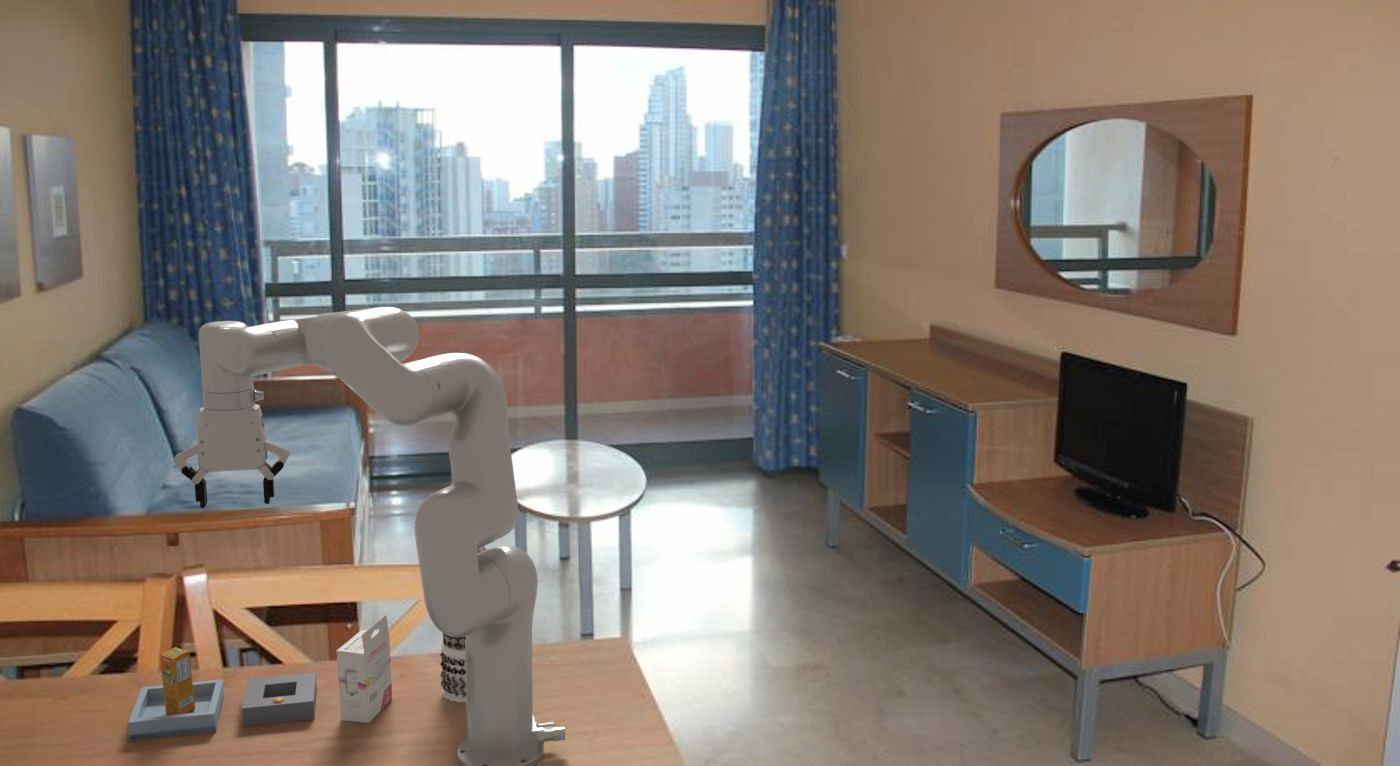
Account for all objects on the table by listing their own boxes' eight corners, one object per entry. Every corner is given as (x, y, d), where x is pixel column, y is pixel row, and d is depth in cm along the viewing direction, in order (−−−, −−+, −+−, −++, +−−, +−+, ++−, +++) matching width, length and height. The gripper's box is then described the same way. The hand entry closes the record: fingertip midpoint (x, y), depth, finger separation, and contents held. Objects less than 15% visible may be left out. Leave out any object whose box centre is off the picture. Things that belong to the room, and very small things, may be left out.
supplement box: (162, 714, 186) (157, 653, 184) (181, 705, 189) (176, 645, 187) (178, 719, 185) (173, 658, 183) (196, 709, 188) (191, 649, 186)
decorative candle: (448, 676, 203) (444, 534, 198) (502, 680, 202) (500, 537, 197) (431, 701, 194) (426, 553, 189) (488, 705, 193) (484, 556, 188)
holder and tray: (317, 687, 198) (316, 669, 198) (314, 721, 187) (313, 702, 186) (143, 704, 192) (141, 685, 191) (129, 741, 180) (127, 721, 180)
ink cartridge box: (364, 696, 196) (360, 610, 193) (393, 699, 195) (389, 613, 192) (338, 721, 187) (334, 632, 184) (368, 724, 186) (364, 635, 183)
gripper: (288, 392, 197) (293, 493, 201) (173, 397, 193) (181, 500, 196) (285, 402, 190) (291, 507, 194) (166, 407, 186) (174, 514, 189)
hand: (235, 503), depth 195 cm, fingers open, 9 cm apart
